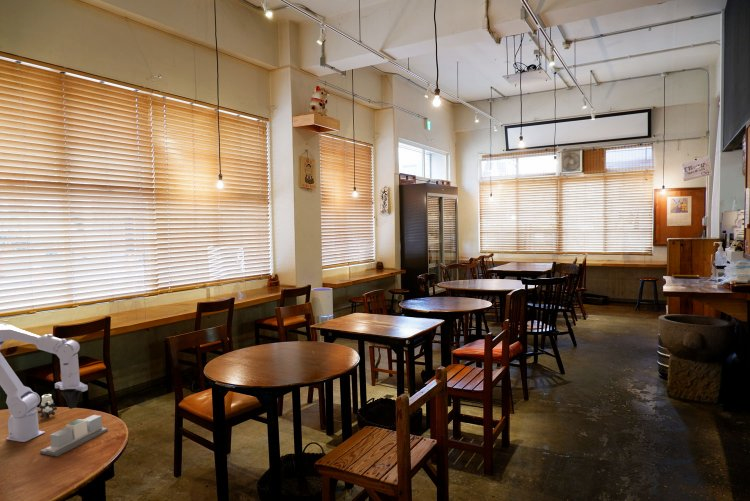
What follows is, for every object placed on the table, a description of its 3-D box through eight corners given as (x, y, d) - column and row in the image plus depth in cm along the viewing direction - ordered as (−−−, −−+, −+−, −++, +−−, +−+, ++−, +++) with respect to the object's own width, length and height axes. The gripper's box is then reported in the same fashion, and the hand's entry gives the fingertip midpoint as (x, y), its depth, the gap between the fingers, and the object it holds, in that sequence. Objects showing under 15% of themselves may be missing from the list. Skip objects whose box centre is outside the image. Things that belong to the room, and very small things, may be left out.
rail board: (40, 453, 161) (39, 437, 161) (91, 428, 180) (90, 413, 180) (57, 456, 159) (55, 440, 158) (107, 430, 178) (106, 415, 177)
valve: (38, 411, 199) (38, 420, 189) (37, 396, 198) (36, 404, 189) (56, 407, 203) (57, 416, 193) (55, 392, 202) (56, 400, 193)
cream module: (66, 438, 168) (65, 424, 168) (79, 431, 173) (78, 418, 173) (74, 439, 167) (73, 425, 167) (87, 433, 172) (86, 419, 171)
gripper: (45, 374, 174) (48, 409, 175) (74, 377, 170) (77, 413, 171) (63, 368, 181) (66, 402, 182) (91, 371, 176) (94, 406, 177)
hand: (72, 407), depth 177 cm, fingers closed
